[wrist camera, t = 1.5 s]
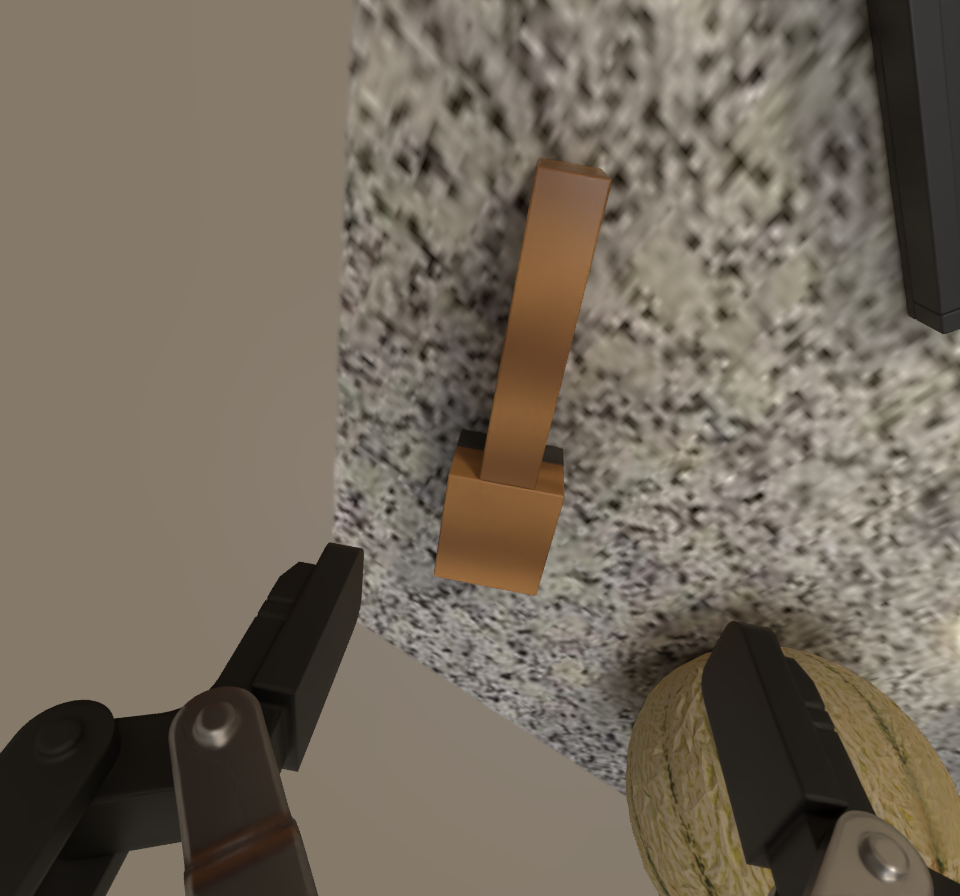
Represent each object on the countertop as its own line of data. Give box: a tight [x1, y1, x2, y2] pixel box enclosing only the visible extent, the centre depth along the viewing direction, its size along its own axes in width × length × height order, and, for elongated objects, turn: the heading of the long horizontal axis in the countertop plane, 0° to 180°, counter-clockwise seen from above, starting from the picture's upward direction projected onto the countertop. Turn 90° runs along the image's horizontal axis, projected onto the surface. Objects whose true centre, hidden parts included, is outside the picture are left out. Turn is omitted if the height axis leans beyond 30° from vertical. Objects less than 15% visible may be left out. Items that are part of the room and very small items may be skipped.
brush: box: [434, 158, 612, 596], centre depth 23 cm, size 18×5×4 cm, turn 171°
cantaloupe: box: [626, 646, 960, 896], centre depth 27 cm, size 15×15×15 cm
